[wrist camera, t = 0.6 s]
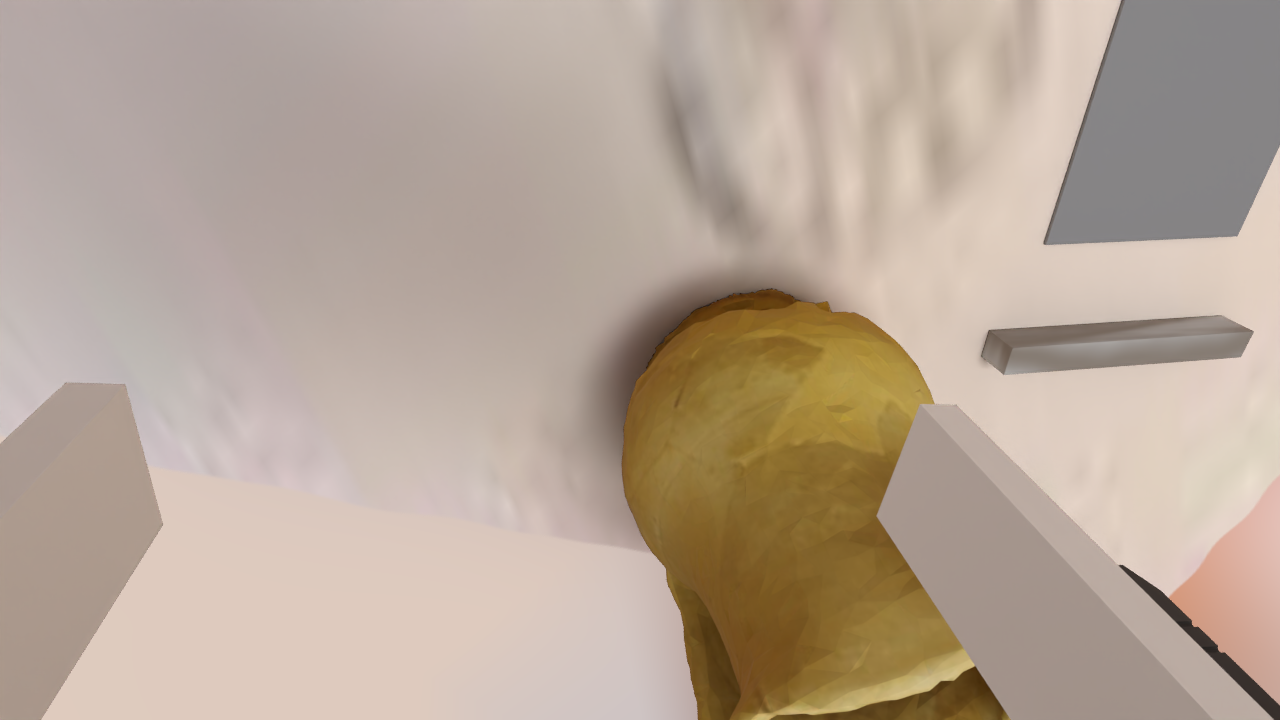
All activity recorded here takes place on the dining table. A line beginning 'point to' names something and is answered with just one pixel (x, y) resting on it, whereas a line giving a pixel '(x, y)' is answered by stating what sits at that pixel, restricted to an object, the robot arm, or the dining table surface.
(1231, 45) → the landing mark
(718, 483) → the pitcher
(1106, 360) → the wall
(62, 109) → the dining table surface
